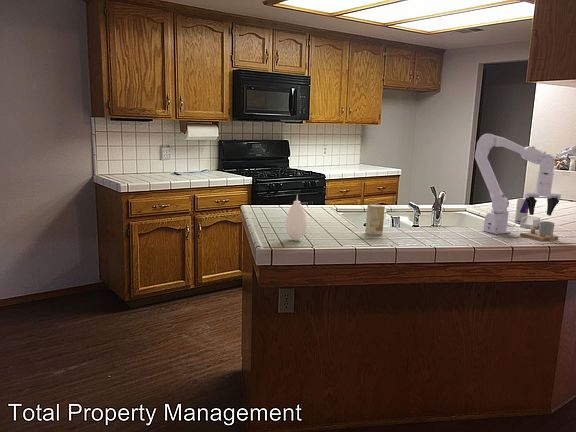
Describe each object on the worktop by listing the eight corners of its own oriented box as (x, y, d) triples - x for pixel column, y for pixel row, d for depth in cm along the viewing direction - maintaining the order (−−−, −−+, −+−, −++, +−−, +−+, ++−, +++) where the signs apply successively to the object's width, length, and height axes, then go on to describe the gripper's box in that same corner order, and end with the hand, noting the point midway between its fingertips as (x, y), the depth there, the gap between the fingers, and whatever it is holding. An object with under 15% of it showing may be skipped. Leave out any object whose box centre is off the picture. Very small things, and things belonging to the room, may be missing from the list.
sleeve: (540, 237, 198) (542, 223, 197) (535, 234, 203) (537, 220, 202) (554, 238, 197) (556, 224, 196) (549, 235, 202) (551, 221, 201)
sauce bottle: (281, 239, 184) (282, 193, 181) (295, 237, 190) (297, 192, 187) (295, 243, 179) (297, 196, 176) (309, 240, 184) (311, 194, 181)
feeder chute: (525, 225, 231) (527, 215, 230) (539, 227, 226) (540, 217, 226) (519, 227, 225) (520, 217, 224) (533, 229, 220) (534, 219, 220)
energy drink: (527, 224, 233) (530, 200, 231) (516, 223, 234) (519, 199, 232) (524, 222, 238) (527, 198, 236) (513, 221, 239) (516, 197, 237)
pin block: (540, 241, 196) (541, 231, 195) (519, 235, 205) (520, 226, 204) (557, 239, 201) (559, 229, 200) (536, 234, 210) (538, 224, 209)
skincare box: (369, 235, 197) (371, 206, 195) (364, 233, 201) (366, 204, 199) (383, 234, 199) (385, 206, 197) (378, 232, 203) (380, 204, 201)
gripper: (555, 182, 205) (551, 213, 207) (522, 181, 204) (518, 212, 207) (565, 184, 198) (560, 216, 200) (531, 183, 197) (527, 215, 200)
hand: (540, 214), depth 203 cm, fingers open, 7 cm apart
